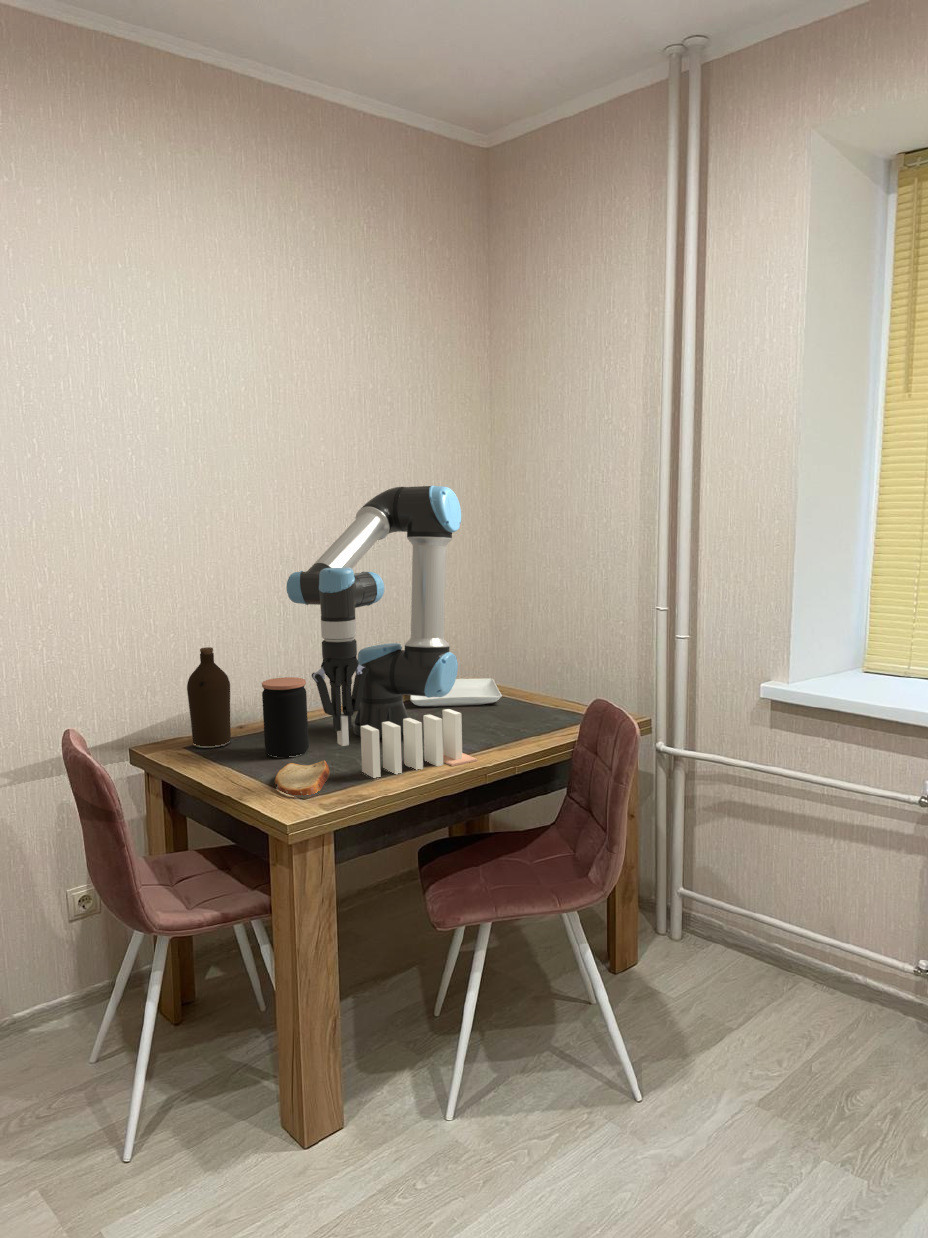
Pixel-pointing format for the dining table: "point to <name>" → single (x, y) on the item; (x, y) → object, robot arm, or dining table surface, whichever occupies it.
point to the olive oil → (209, 702)
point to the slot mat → (458, 762)
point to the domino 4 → (433, 740)
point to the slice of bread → (302, 778)
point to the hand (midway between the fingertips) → (343, 744)
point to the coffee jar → (285, 716)
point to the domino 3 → (413, 743)
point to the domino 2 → (391, 747)
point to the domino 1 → (370, 751)
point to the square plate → (463, 694)
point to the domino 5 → (452, 734)
